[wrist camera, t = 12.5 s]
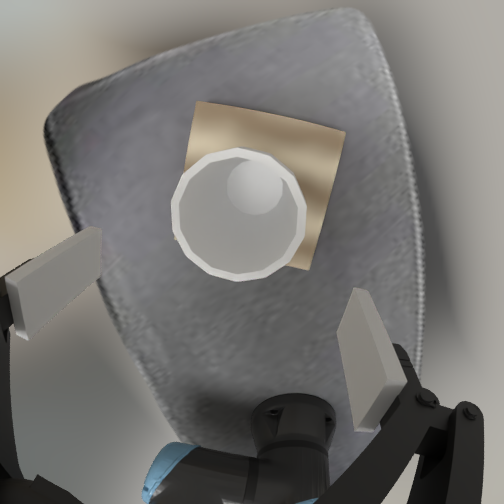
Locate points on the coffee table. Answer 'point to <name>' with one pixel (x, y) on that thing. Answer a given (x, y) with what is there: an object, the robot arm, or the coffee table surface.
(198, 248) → the foam cup
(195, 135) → the wooden base
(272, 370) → the coffee table surface
